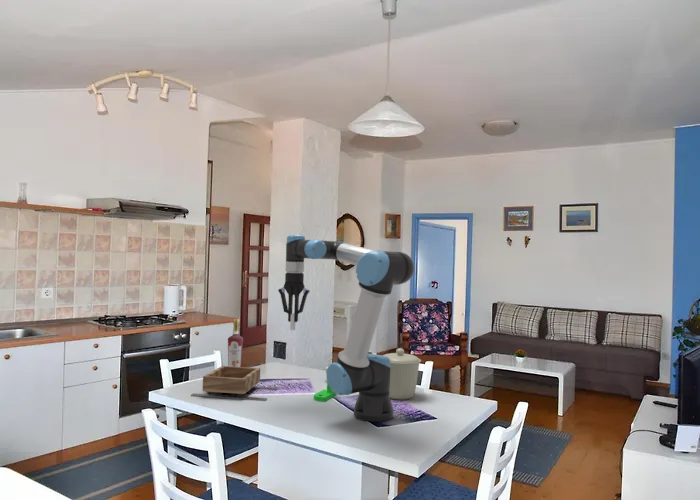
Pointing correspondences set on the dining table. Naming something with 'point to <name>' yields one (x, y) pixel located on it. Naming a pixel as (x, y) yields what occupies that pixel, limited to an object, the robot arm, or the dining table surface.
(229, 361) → the liquor
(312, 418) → the dining table surface
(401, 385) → the canister
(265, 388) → the cart rails
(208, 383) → the wooden crate
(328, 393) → the mechanical part
